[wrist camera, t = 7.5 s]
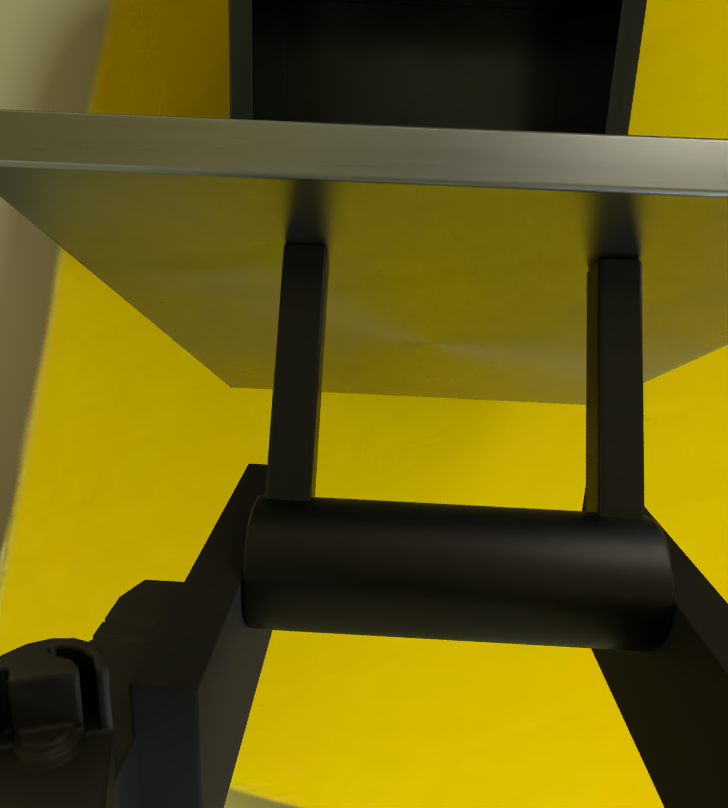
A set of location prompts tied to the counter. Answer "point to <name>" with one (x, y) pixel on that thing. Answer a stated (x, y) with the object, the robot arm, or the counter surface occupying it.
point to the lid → (411, 336)
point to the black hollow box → (437, 63)
